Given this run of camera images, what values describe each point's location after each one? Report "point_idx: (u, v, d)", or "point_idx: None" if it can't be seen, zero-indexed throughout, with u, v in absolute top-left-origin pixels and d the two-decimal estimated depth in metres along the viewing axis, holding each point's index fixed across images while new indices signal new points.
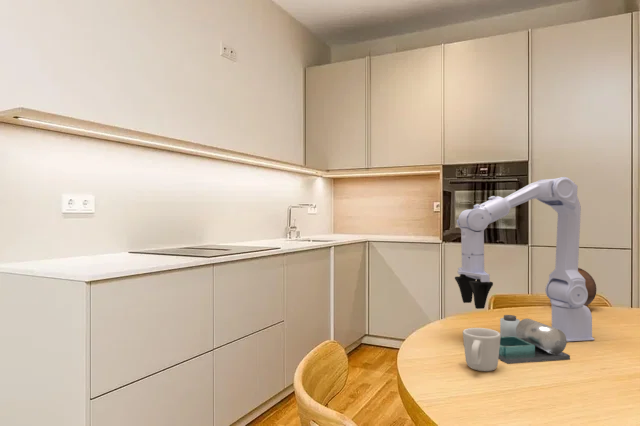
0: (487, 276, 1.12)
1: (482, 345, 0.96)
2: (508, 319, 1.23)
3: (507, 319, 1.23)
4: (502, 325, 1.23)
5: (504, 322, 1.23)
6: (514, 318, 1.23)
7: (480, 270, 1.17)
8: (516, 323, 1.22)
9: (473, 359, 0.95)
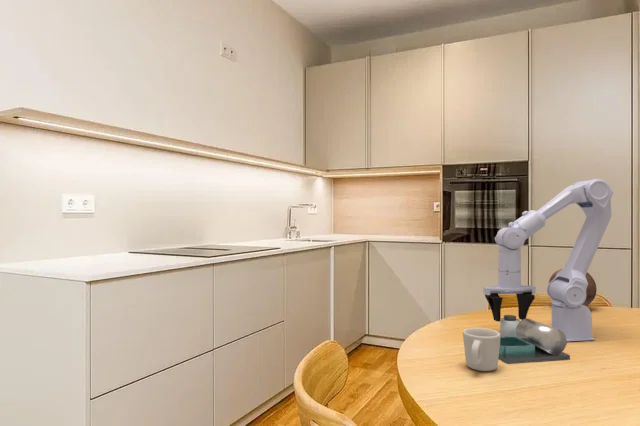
0: (486, 289, 1.22)
1: (482, 345, 0.96)
2: (508, 319, 1.23)
3: (507, 319, 1.23)
4: (502, 325, 1.23)
5: (504, 322, 1.23)
6: (514, 318, 1.23)
7: (502, 286, 1.23)
8: (516, 323, 1.22)
9: (473, 359, 0.95)
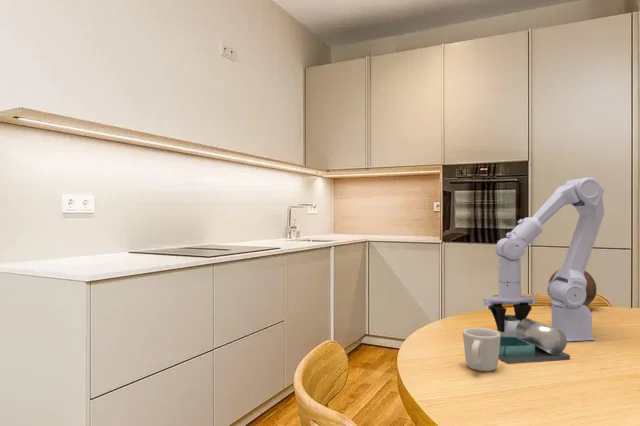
0: (486, 300, 1.22)
1: (482, 345, 0.96)
2: (508, 319, 1.23)
3: (507, 319, 1.23)
4: None
5: (504, 322, 1.23)
6: (514, 318, 1.23)
7: (502, 296, 1.23)
8: (516, 323, 1.22)
9: (473, 359, 0.95)
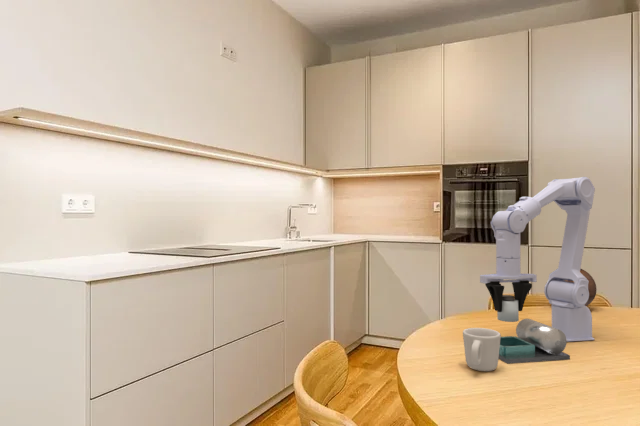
0: (482, 277, 1.13)
1: (482, 345, 0.96)
2: (505, 299, 1.14)
3: (504, 299, 1.14)
4: None
5: None
6: (511, 298, 1.13)
7: (500, 273, 1.13)
8: (513, 303, 1.12)
9: (473, 359, 0.95)
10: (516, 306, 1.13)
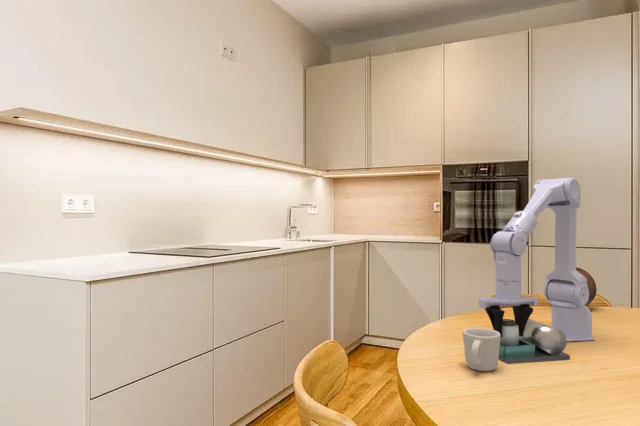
0: (481, 301, 1.08)
1: (482, 345, 0.96)
2: (505, 324, 1.09)
3: (504, 324, 1.09)
4: None
5: None
6: (512, 323, 1.09)
7: (500, 297, 1.09)
8: (513, 328, 1.08)
9: (473, 359, 0.95)
10: (516, 331, 1.08)
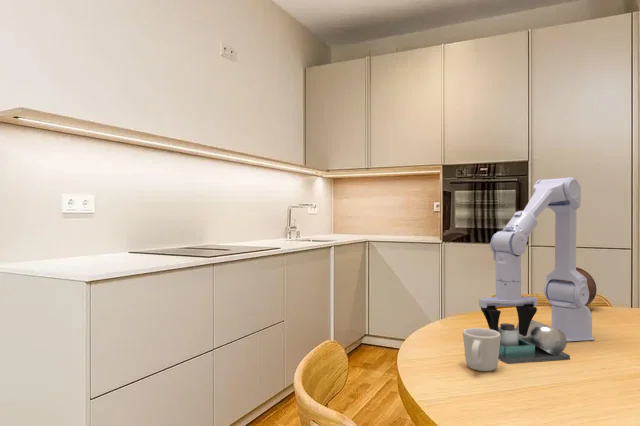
0: (481, 301, 1.08)
1: (482, 345, 0.96)
2: (504, 328, 1.09)
3: (503, 328, 1.09)
4: None
5: (500, 331, 1.09)
6: (511, 327, 1.09)
7: (500, 297, 1.09)
8: (513, 333, 1.08)
9: (473, 359, 0.95)
10: (516, 336, 1.08)
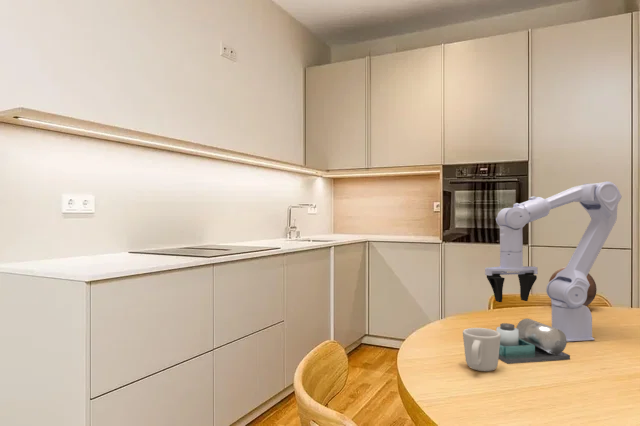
0: (487, 270, 1.21)
1: (482, 345, 0.96)
2: (504, 328, 1.09)
3: (503, 328, 1.09)
4: None
5: (500, 331, 1.09)
6: (511, 327, 1.09)
7: (503, 266, 1.22)
8: (513, 333, 1.08)
9: (473, 359, 0.95)
10: (516, 336, 1.08)
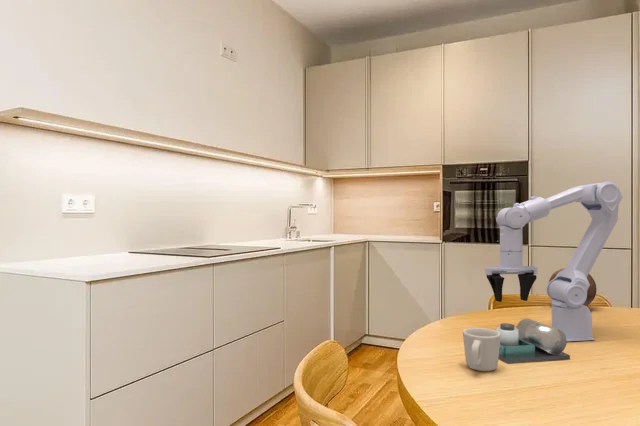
0: (487, 269, 1.21)
1: (482, 345, 0.96)
2: (504, 328, 1.09)
3: (503, 328, 1.09)
4: None
5: (500, 331, 1.09)
6: (511, 327, 1.09)
7: (503, 266, 1.22)
8: (513, 333, 1.08)
9: (473, 359, 0.95)
10: (516, 336, 1.08)
